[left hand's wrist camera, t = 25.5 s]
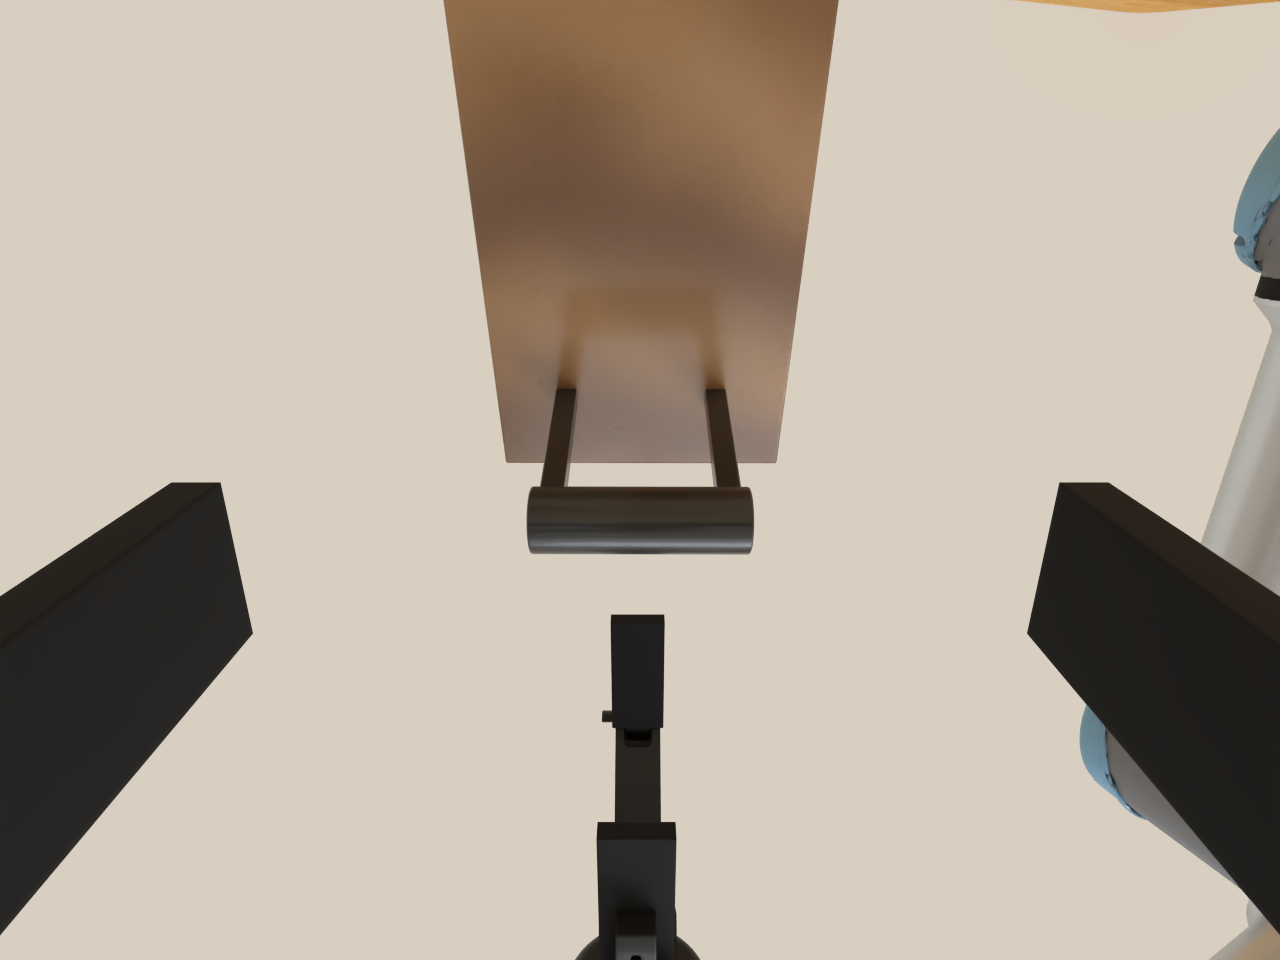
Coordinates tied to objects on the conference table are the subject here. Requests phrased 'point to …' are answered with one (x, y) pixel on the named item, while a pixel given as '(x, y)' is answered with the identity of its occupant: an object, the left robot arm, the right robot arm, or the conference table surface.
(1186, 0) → the conference table surface
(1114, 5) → the conference table surface
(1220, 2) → the conference table surface
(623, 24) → the lid
